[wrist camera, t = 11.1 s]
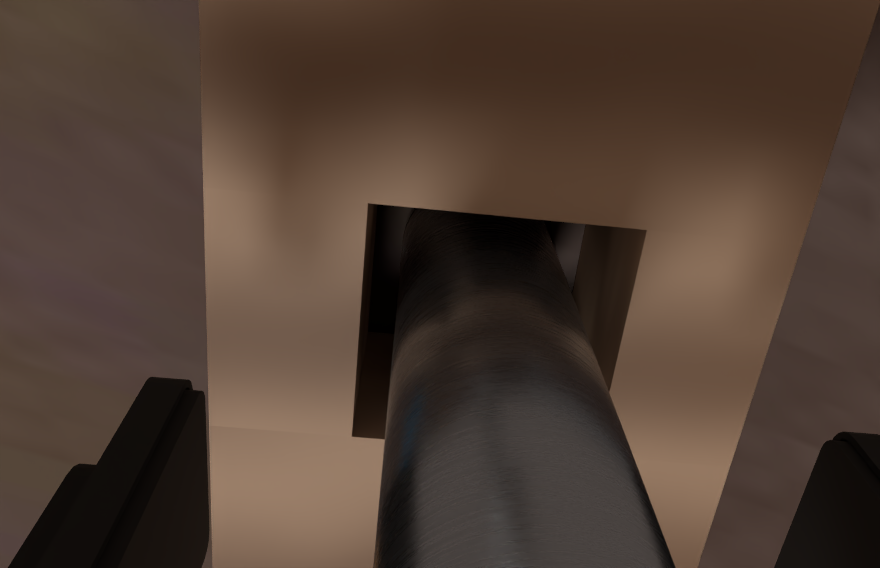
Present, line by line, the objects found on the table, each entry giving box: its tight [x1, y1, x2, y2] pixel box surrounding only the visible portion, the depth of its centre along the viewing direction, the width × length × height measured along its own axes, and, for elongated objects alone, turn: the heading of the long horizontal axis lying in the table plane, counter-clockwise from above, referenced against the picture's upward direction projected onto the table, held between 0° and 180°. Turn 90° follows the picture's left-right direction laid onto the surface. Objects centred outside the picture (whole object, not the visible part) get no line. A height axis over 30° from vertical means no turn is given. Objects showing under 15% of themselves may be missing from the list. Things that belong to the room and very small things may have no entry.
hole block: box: [199, 0, 880, 568], centre depth 19 cm, size 20×12×5 cm, turn 174°
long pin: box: [373, 208, 676, 568], centre depth 15 cm, size 4×4×14 cm
